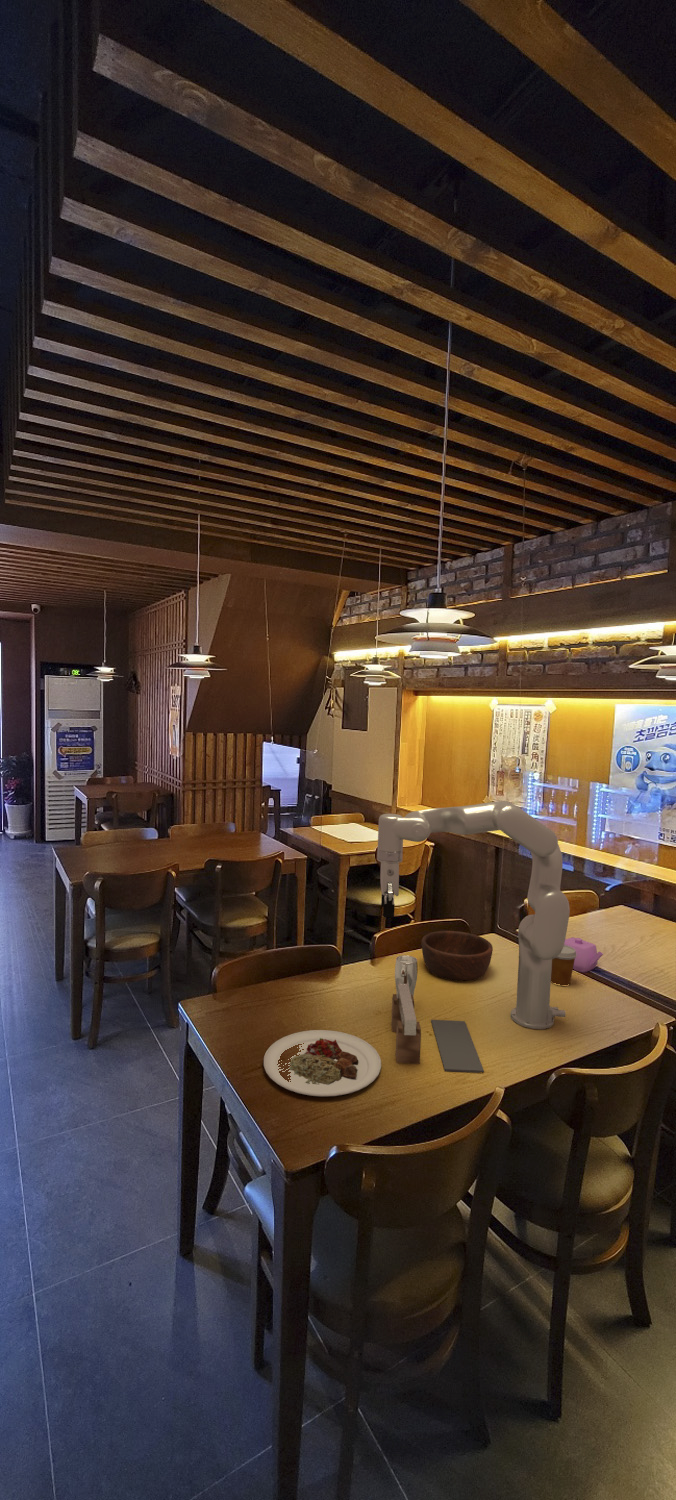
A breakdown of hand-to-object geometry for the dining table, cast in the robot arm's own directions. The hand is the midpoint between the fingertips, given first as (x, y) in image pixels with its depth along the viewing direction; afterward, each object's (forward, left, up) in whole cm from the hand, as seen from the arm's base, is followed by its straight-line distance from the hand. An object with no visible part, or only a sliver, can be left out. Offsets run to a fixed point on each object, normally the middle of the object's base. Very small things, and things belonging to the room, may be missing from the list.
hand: (387, 911), depth 189 cm
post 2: (-5, +25, -31) cm, 40 cm away
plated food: (+17, +30, -32) cm, 47 cm away
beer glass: (-7, -5, -31) cm, 33 cm away
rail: (-5, +17, -23) cm, 29 cm away
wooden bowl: (-28, -35, -32) cm, 55 cm away
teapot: (-75, -44, -32) cm, 93 cm away
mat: (-19, +17, -31) cm, 40 cm away
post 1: (-5, +9, -31) cm, 33 cm away
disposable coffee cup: (-63, -28, -31) cm, 76 cm away
